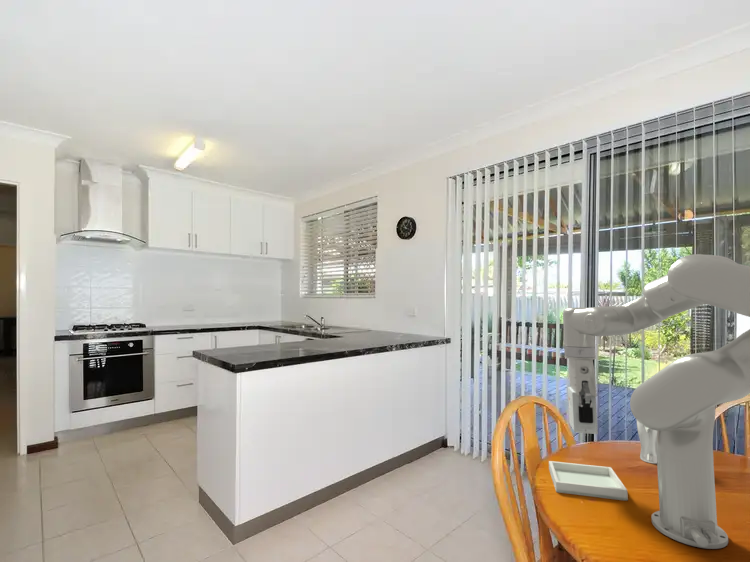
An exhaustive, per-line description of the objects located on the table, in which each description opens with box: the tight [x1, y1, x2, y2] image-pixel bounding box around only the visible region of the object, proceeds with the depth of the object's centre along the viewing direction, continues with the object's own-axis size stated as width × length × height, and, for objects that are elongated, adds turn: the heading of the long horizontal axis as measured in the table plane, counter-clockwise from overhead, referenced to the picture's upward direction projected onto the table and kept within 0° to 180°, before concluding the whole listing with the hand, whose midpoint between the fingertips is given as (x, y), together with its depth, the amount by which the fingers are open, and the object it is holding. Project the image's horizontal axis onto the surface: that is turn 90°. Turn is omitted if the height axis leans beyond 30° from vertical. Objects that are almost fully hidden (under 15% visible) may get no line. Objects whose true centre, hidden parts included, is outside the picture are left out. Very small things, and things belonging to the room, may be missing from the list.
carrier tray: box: [548, 460, 629, 502], centre depth 104 cm, size 14×16×2 cm
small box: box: [567, 386, 599, 435], centre depth 105 cm, size 8×6×10 cm
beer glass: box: [636, 420, 657, 465], centre depth 119 cm, size 7×7×15 cm
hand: (582, 417), depth 105 cm, fingers closed on small box, 8 cm apart
